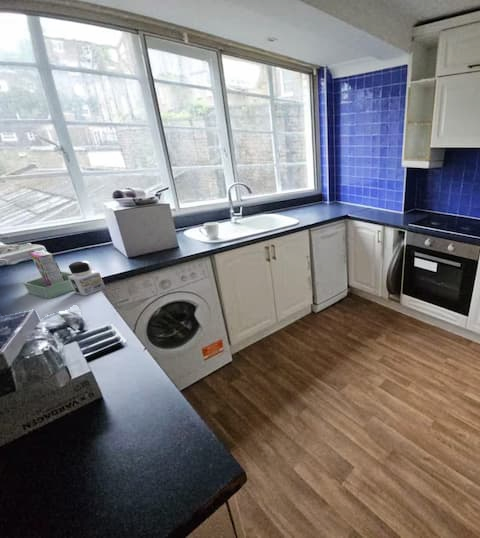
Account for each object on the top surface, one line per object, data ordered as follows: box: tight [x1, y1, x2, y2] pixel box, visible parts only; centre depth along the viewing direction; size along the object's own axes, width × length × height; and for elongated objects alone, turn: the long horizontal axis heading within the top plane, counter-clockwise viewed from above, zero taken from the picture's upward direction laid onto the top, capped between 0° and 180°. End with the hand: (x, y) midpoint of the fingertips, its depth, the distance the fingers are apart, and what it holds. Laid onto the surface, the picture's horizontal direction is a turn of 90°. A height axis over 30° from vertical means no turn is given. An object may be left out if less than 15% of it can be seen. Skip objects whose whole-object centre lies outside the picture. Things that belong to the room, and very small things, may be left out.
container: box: [68, 260, 106, 296], centre depth 124 cm, size 8×8×13 cm
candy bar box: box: [29, 250, 65, 287], centre depth 126 cm, size 11×5×16 cm, turn 58°
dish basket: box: [23, 270, 74, 300], centre depth 128 cm, size 13×16×5 cm
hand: (23, 257), depth 130 cm, fingers open, 8 cm apart
